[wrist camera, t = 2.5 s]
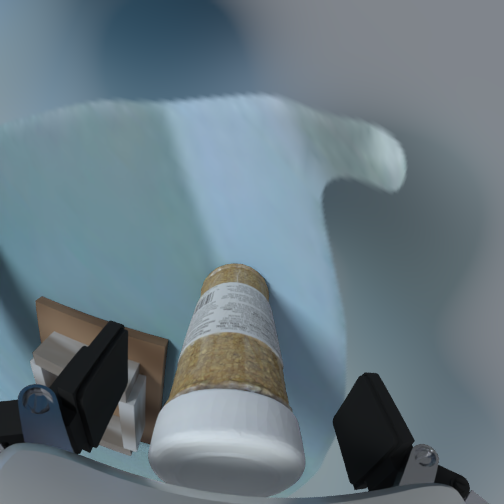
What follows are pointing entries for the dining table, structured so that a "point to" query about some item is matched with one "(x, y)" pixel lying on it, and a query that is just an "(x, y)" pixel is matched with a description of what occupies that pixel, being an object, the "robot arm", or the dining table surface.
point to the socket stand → (139, 370)
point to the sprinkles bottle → (229, 397)
